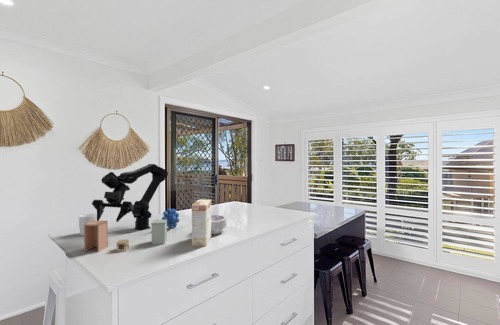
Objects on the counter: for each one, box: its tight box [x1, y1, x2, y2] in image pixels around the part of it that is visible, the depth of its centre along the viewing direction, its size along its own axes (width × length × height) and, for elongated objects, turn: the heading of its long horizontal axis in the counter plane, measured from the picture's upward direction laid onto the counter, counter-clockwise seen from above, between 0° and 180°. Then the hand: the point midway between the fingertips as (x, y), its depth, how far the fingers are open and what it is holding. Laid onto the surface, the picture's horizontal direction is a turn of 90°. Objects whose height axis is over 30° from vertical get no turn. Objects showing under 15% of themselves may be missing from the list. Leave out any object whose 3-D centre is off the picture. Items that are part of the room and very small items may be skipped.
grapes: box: [161, 207, 180, 229], centre depth 152 cm, size 12×7×12 cm, turn 145°
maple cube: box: [115, 238, 130, 252], centre depth 118 cm, size 4×4×4 cm
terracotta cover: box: [83, 220, 109, 253], centre depth 119 cm, size 7×7×12 cm
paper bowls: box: [211, 214, 227, 235], centre depth 146 cm, size 15×15×8 cm
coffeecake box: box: [191, 198, 212, 247], centre depth 130 cm, size 15×7×20 cm, turn 178°
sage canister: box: [150, 219, 168, 245], centre depth 128 cm, size 6×6×10 cm
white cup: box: [78, 213, 97, 237], centre depth 141 cm, size 8×8×10 cm
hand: (107, 221), depth 127 cm, fingers open, 9 cm apart
